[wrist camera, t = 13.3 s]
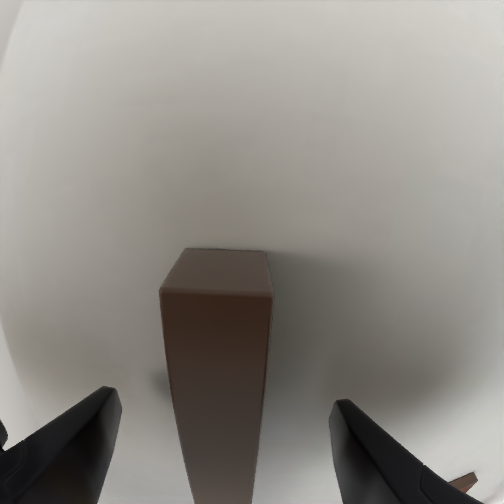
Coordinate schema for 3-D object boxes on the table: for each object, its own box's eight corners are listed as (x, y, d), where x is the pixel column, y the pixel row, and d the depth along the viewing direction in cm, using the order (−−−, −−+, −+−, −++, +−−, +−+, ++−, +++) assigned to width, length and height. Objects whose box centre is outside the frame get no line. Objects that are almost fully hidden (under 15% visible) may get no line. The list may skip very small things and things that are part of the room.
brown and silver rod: (214, 536, 14) (212, 562, 11) (183, 247, 7) (156, 287, 5) (242, 537, 14) (242, 563, 11) (266, 250, 7) (274, 294, 5)
